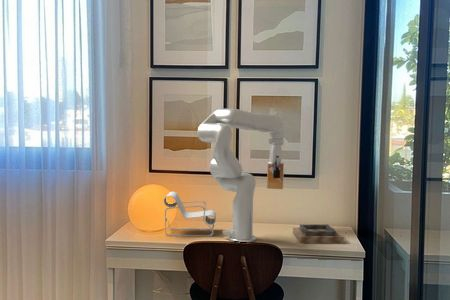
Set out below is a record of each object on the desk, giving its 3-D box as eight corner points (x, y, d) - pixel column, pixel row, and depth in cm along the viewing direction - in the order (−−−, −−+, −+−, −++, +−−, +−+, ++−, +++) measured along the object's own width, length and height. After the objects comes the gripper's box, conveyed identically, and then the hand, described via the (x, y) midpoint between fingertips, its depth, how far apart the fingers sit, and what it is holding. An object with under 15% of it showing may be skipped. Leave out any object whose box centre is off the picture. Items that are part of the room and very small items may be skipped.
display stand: (300, 243, 201) (300, 232, 201) (292, 233, 219) (292, 223, 219) (343, 243, 202) (343, 232, 202) (332, 233, 220) (332, 223, 220)
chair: (167, 229, 226) (167, 191, 225) (215, 229, 226) (216, 191, 225) (163, 236, 213) (163, 195, 211) (215, 236, 213) (215, 196, 211)
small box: (266, 188, 222) (267, 163, 221) (267, 187, 228) (268, 162, 227) (283, 189, 221) (283, 163, 220) (283, 187, 227) (283, 162, 226)
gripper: (266, 141, 232) (265, 175, 233) (271, 142, 214) (270, 179, 215) (280, 141, 232) (279, 175, 233) (286, 143, 215) (285, 179, 216)
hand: (275, 176), depth 224 cm, fingers closed on small box, 7 cm apart
